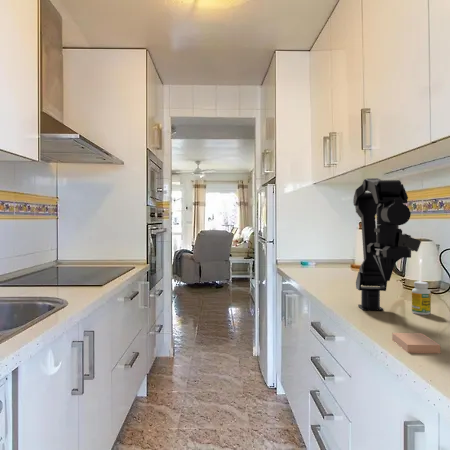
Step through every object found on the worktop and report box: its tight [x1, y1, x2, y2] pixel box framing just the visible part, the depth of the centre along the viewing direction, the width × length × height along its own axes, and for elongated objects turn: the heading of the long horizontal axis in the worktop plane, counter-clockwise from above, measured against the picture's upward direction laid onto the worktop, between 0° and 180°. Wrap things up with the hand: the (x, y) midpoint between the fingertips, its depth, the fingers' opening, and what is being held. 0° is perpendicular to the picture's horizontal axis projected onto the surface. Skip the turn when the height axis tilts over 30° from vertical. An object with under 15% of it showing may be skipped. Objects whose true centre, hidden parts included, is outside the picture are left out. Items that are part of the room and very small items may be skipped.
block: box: [391, 332, 441, 354], centre depth 91 cm, size 2×7×9 cm
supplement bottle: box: [411, 281, 432, 316], centre depth 124 cm, size 5×5×10 cm
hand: (387, 280), depth 111 cm, fingers closed
